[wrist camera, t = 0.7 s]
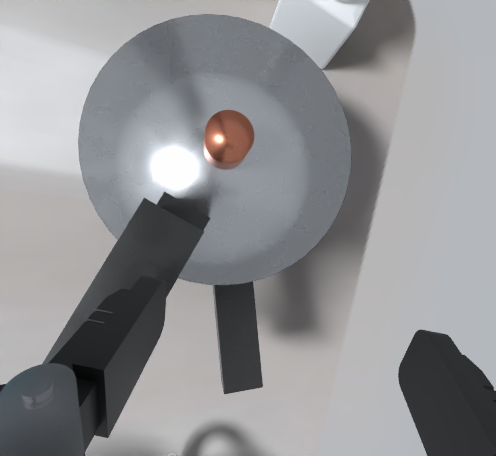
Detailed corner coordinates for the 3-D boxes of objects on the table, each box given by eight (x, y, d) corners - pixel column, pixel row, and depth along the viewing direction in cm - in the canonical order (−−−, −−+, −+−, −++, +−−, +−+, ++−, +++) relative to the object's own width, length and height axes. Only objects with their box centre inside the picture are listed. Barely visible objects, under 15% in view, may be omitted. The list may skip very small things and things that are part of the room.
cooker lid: (175, -23, 23) (163, -183, 14) (380, 118, 26) (478, 55, 17) (-55, 325, 20) (-252, 396, 11) (206, 446, 22) (215, 580, 14)
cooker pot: (120, 101, 33) (83, 33, 22) (284, 98, 36) (324, 37, 25) (142, 358, 32) (117, 419, 21) (307, 332, 35) (357, 374, 25)
